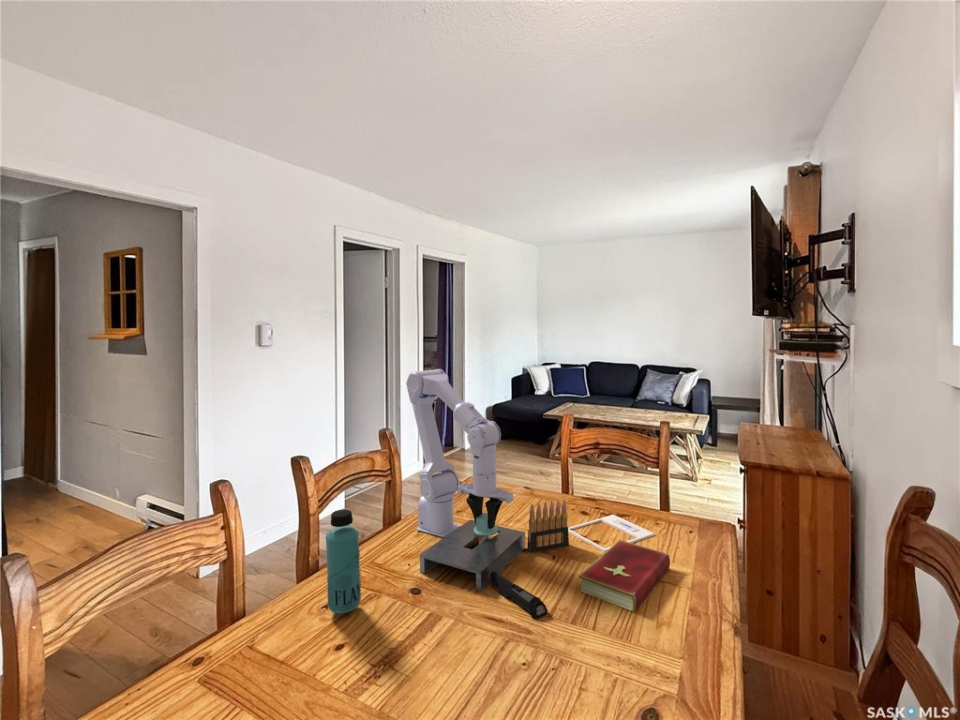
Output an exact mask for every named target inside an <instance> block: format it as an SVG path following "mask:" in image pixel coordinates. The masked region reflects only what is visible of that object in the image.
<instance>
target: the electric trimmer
mask: <svg viewBox="0 0 960 720" xmlns="http://www.w3.org/2000/svg"><path fill="white" fill-rule="evenodd" d="M490 584H491V585H492V586H493V587H494V588H495V589H496V590H497V591H498V592H499V593H500V594H501V595H502V596H503V597H504V598H505V599H509V600H510V599H511V600H513V602H515V603H517V604H518V605H519V606H521V607H522V608H523V609H525V610H526V611H527V612H529V615H530V617H531V618H532V619H535V620H539V619H541V618H544V617H545V616H547V615H548V613H549V612H548V611H549V610H548V608H547V606H546V604H545V603H544V601H542V599H541V598H539V597H538V596H535V595H534V594H532V593H531V592H529V591H528V590H526V589H524V588H522V587H521V586H519V585H518V584H516V583H514V582H512V581H511V580H509V579H507V578H506V577H504V576H503V575H501V574H500V573H499V574H498V573H496V572H495V571H492V572H491V575H490Z"/></svg>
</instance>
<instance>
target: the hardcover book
mask: <svg viewBox="0 0 960 720" xmlns="http://www.w3.org/2000/svg"><path fill="white" fill-rule="evenodd" d="M611 546H612V547H611ZM611 546H610V547H611V548H609V549H608V550H607V551H606V552H603V554H601V555H600V556H599V557H598V558H597V559H595V561H593V563H591V565H589V566H588V567H587V568H586V569H585V570H583V571H582V572H581V573H580V574H579V575H578V578H579V579H580V581H581V582H580V583H581V584H580V585H581V586H580V588H581V589H580V592H581V593H584V594H587V595H588V596H589V595H590V596H592V597H595V598H597V599H600V600H602V601H605V602H607V603H611V604H612V605H616V606H619V607H621V608H624V609H626V610H628V611H632V613H634V614H635V613H636V611H637V610H638V609H639V607H640V606H641V605H642V604H643V602H644V601H645V600H646V599H647V597H648V596H649V595H650V594H651V592H652V591H653V590H654V589H653V588H655V587H656V586H657V584H658V583H659V582H660V581H661V580H662V578H663V577H664V576H665V575H666V573H667V572H668V571H669V570H670V566H671V557H670V554H669V553H667V552H662V551H659V550H658V549H653V548H649V547H647V546H643V545H641V544H640V545H638V544H636V543H634V542H633V543H629V542H626V540H622V539H618V540H617V541H616V542H615V543H614V544H613V545H611ZM649 593H650V594H649Z"/></svg>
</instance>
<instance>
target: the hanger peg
mask: <svg viewBox="0 0 960 720" xmlns="http://www.w3.org/2000/svg"><path fill="white" fill-rule="evenodd" d="M497 532H498V528H497V527H496V526H494V527H493V528H492V529H489V528H488V514H487V512H483V514H481V515H480V516H479V517H477V518H476V526H475V527H474V533H475V534H477V536H482V537H481V538H479V539H478V545H479V544H480V543H481V542H483V541H484V540H485V539H486V538H489V539H492V538H491V537H490V536H495V535H497V534H498V533H497Z"/></svg>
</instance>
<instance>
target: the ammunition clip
mask: <svg viewBox="0 0 960 720" xmlns="http://www.w3.org/2000/svg"><path fill="white" fill-rule="evenodd" d="M530 504H531V505H530V507H529V520H528V529H527V549H526V550H527V551H528V552H529V553H530V554H533V553H539V552H544V551H549V550H550V551H551V550H555V549H556V550H557V549H562V548H566V547H567V548H568V547H570V539H569V532H568V528H569V526H568V513H567V502H566V499H565V498H564V499H562V504H561V503H560V501H559V500H558V499H557V500H556V503H555V506H554V502H553V500H551V501H550V503H549V506H548V505H547V502H546V501H544V503H543V507H542V508H541V504H540V502H538V503H537V504H536V513H535V506H534V504H533V503H530ZM548 507H549V508H548ZM554 507H555V508H554Z"/></svg>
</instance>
